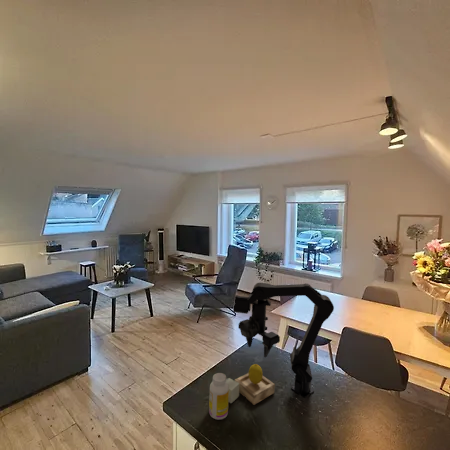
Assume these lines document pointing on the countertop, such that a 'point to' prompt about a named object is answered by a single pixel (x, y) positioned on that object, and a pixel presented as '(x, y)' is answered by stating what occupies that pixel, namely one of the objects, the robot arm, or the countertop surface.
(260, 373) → the lemon
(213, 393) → the supplement bottle
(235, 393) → the ceramic cube
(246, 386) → the square tray
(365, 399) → the countertop surface
